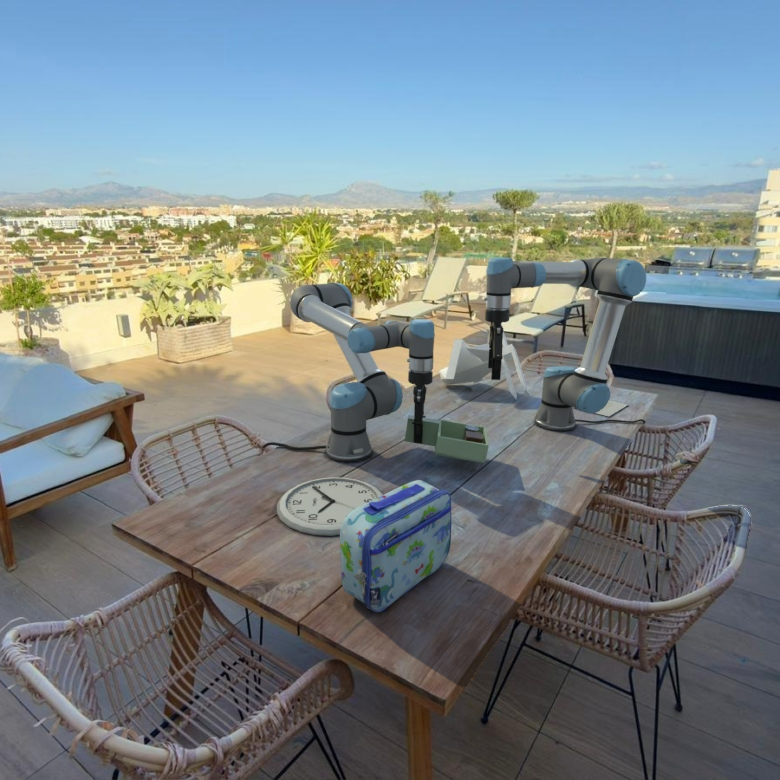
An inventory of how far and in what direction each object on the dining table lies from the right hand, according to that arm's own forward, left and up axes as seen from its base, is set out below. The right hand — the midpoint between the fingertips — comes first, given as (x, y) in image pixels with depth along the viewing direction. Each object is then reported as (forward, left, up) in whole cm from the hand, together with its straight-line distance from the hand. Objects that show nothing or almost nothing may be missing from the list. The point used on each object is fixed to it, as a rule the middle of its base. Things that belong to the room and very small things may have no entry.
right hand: (493, 373), depth 170 cm
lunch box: (+23, +73, -28) cm, 81 cm away
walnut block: (+6, +14, -22) cm, 27 cm away
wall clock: (+44, +43, -28) cm, 68 cm away
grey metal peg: (+7, +8, -22) cm, 24 cm away
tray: (+15, +11, -22) cm, 29 cm away
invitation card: (-52, -56, -28) cm, 81 cm away
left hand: (+23, +11, -21) cm, 33 cm away
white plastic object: (0, -68, -28) cm, 74 cm away
